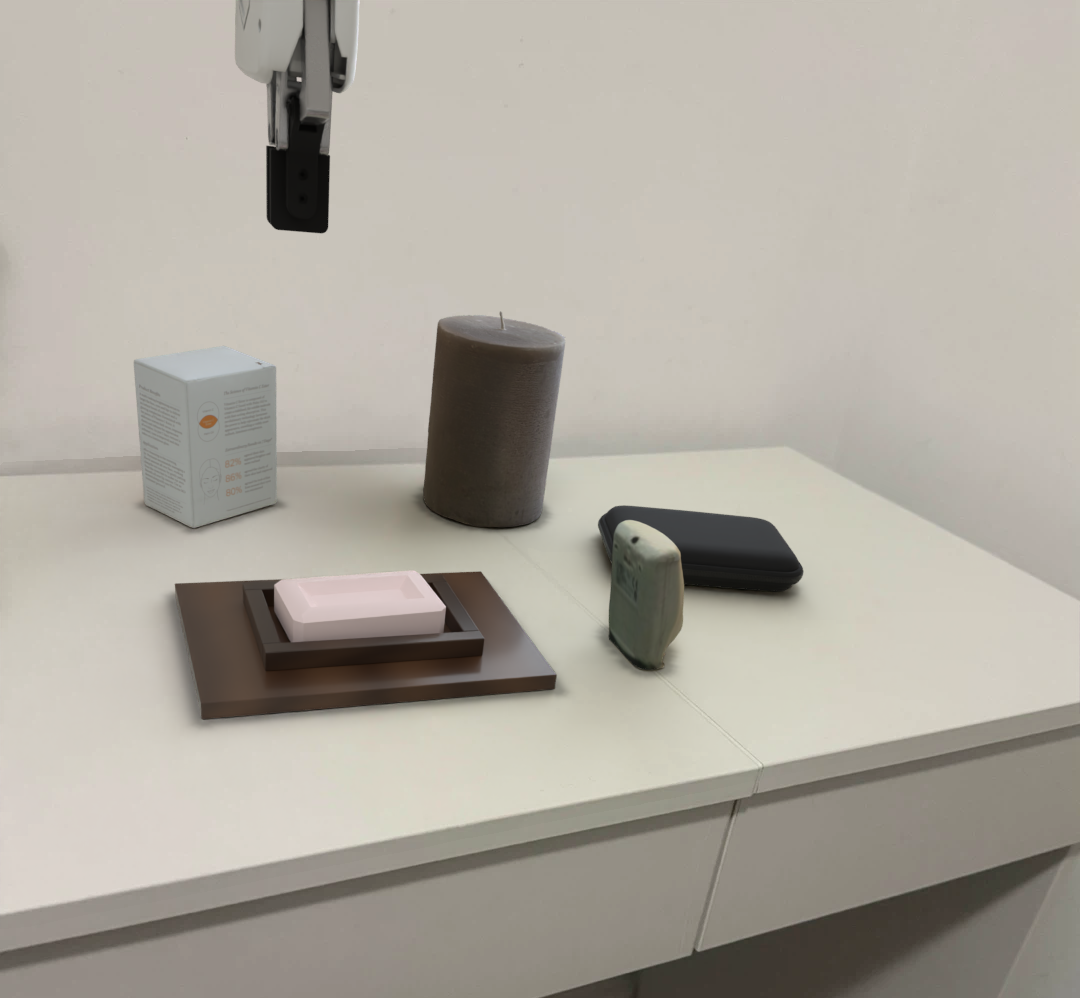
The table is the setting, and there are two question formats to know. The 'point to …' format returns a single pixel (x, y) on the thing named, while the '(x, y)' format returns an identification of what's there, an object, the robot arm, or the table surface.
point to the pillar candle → (491, 419)
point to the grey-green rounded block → (645, 594)
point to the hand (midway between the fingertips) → (297, 228)
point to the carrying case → (716, 547)
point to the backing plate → (350, 652)
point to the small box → (207, 433)
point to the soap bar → (358, 606)
